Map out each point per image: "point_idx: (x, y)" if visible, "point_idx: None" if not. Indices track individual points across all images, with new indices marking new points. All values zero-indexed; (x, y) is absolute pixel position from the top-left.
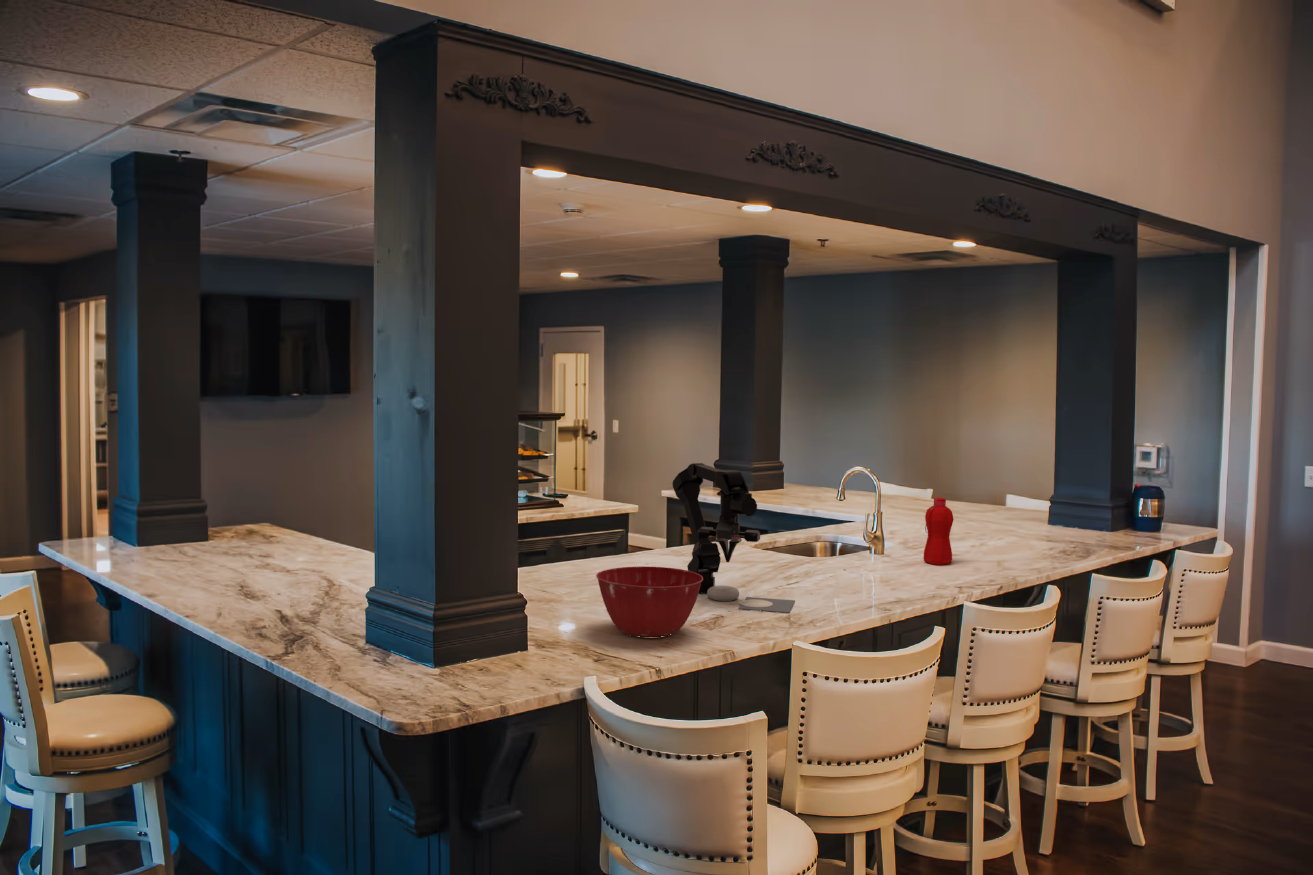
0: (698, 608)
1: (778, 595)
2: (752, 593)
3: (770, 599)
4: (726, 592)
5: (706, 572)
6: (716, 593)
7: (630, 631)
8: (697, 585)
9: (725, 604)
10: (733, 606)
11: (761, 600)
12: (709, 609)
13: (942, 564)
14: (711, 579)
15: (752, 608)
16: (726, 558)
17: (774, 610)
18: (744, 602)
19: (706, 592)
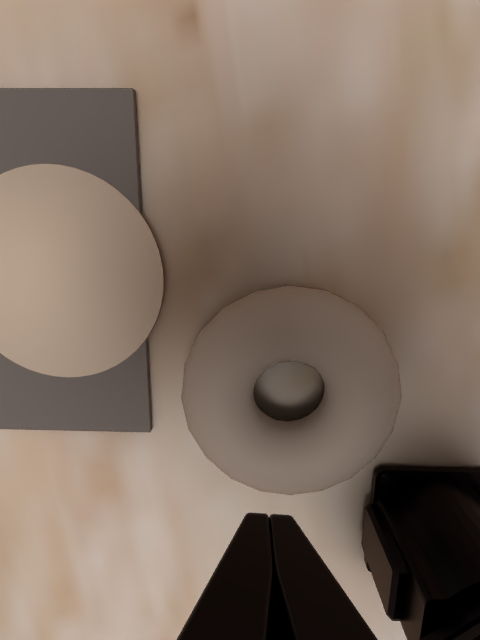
0: (414, 32)
1: (2, 535)
2: (145, 543)
3: (3, 406)
4: (254, 310)
5: (475, 608)
6: (327, 298)
7: None
8: None
9: (247, 223)
10: (187, 181)
11: (43, 359)
12: (333, 27)
13: None
14: (405, 560)
15: (43, 115)
16: (294, 554)
17: None
18: (129, 271)
19: (402, 468)
